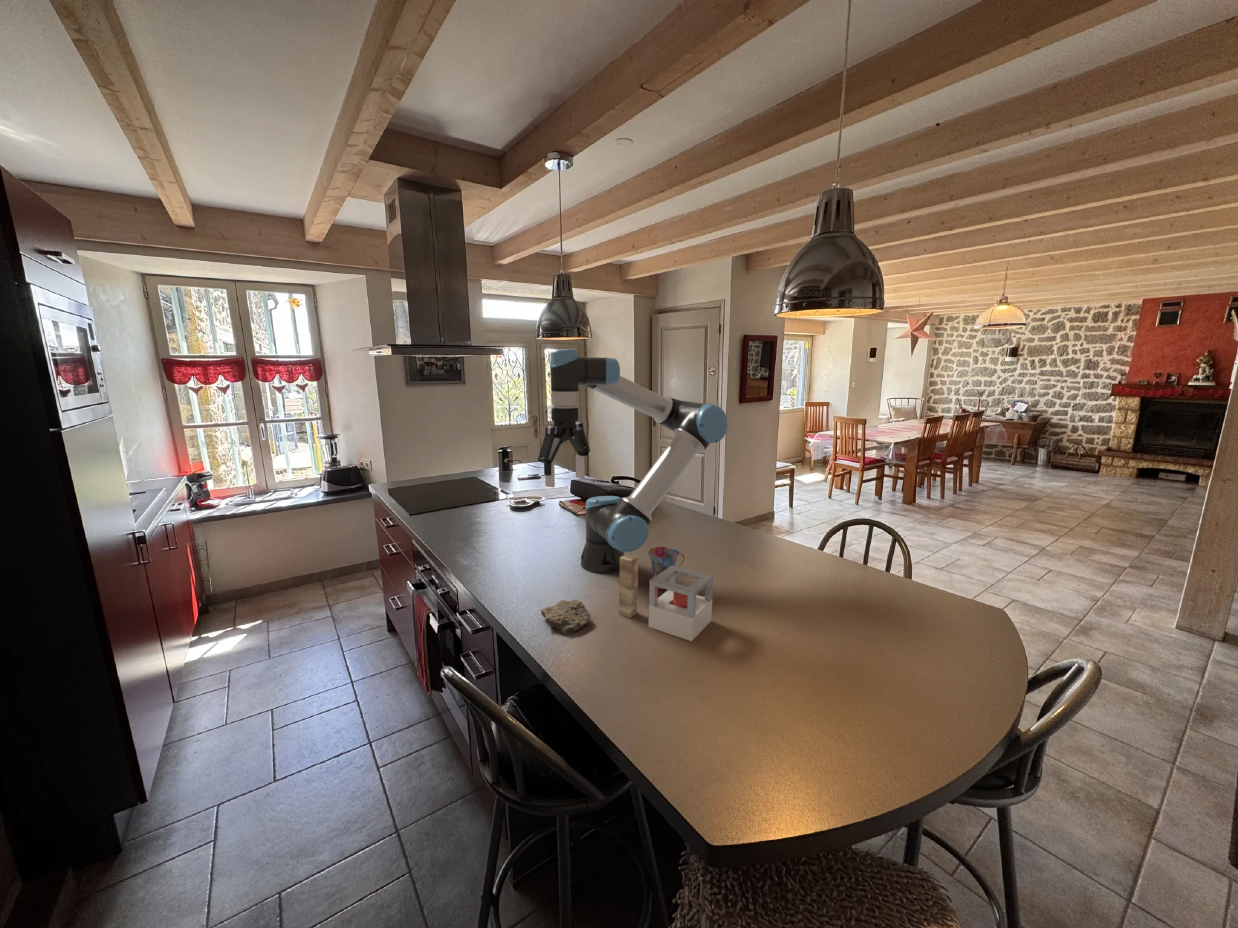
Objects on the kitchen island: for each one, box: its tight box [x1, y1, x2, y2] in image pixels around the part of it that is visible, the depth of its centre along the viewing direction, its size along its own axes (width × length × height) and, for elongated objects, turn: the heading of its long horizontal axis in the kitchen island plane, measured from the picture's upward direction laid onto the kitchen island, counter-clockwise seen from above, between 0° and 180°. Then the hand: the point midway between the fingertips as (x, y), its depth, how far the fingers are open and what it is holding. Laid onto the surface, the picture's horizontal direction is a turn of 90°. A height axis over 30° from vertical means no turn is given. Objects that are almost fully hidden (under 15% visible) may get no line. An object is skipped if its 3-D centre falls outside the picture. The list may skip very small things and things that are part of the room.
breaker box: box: [648, 590, 713, 642], centre depth 126 cm, size 12×12×6 cm
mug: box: [647, 546, 685, 590], centre depth 149 cm, size 12×9×11 cm
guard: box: [648, 565, 714, 618], centre depth 125 cm, size 12×12×6 cm
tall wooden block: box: [618, 553, 639, 619], centre depth 130 cm, size 4×4×16 cm
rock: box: [540, 599, 591, 636], centre depth 126 cm, size 11×12×4 cm
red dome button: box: [673, 592, 688, 609], centre depth 126 cm, size 4×4×8 cm
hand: (565, 482), depth 139 cm, fingers open, 13 cm apart
